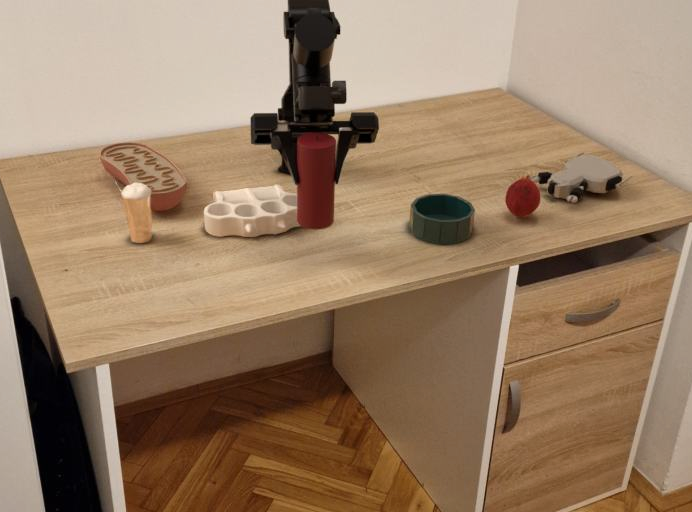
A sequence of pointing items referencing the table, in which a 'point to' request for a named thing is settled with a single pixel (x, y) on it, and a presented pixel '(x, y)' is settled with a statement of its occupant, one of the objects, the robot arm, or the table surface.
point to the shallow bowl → (441, 218)
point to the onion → (522, 197)
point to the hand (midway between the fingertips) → (316, 183)
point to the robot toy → (581, 177)
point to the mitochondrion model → (145, 172)
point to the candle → (316, 180)
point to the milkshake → (138, 211)
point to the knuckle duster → (251, 212)
